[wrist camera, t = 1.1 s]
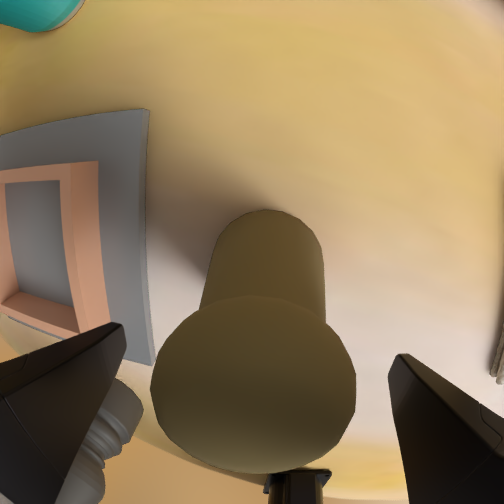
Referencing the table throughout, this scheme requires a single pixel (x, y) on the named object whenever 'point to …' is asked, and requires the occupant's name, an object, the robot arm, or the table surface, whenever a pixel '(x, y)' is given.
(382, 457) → the table surface
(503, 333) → the washcloth
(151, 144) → the table surface
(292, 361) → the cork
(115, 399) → the candle holder
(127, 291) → the shaker socket
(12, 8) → the beverage can
